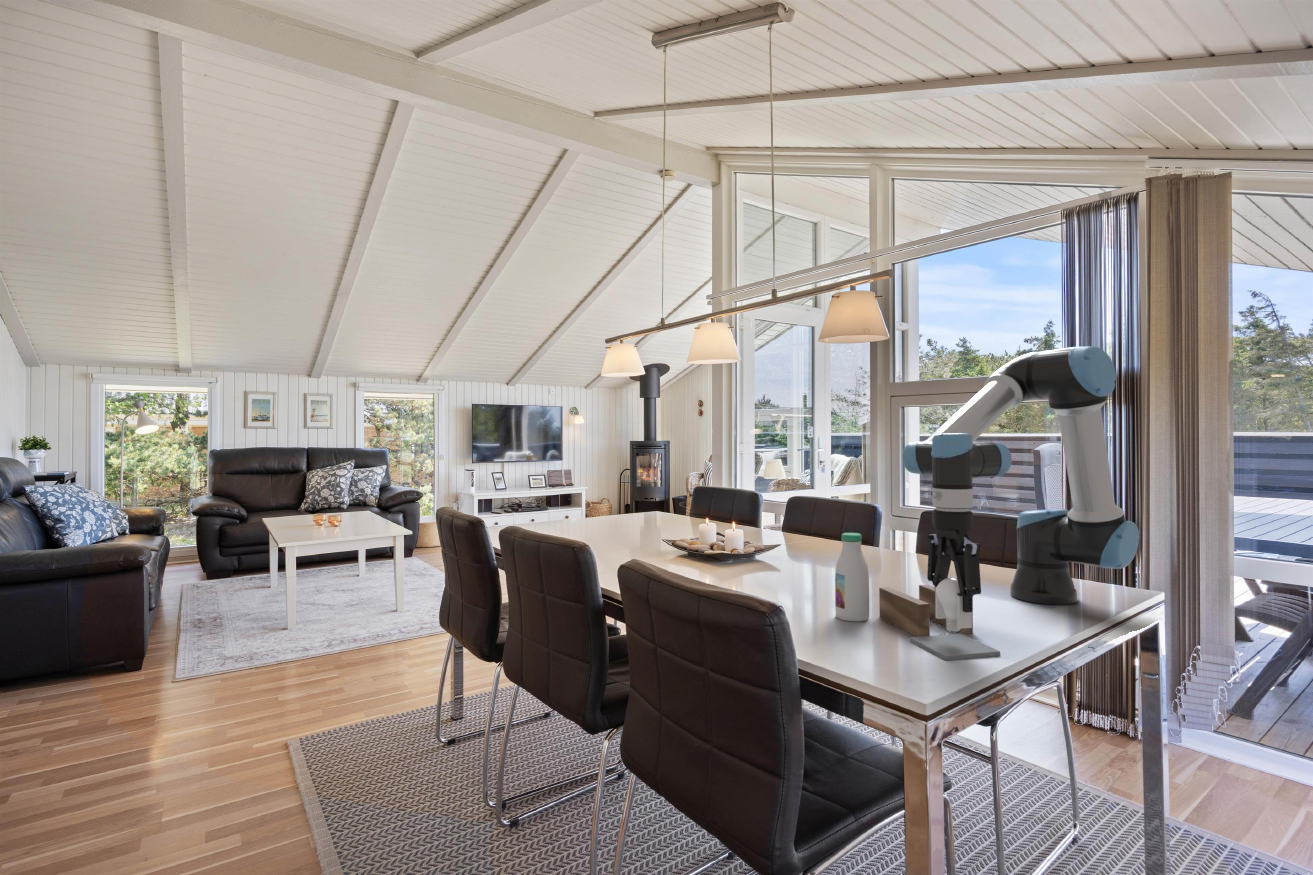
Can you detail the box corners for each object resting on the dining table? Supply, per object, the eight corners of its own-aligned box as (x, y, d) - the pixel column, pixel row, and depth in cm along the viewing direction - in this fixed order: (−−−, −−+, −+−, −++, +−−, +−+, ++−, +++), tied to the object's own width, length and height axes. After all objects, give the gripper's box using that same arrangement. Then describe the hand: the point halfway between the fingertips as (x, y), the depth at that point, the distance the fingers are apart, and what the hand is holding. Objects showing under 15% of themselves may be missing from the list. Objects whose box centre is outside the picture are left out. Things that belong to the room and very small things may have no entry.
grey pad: (960, 636, 141) (960, 633, 141) (1000, 655, 130) (1000, 651, 130) (909, 641, 139) (909, 637, 139) (945, 660, 127) (945, 656, 127)
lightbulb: (974, 637, 131) (973, 581, 130) (939, 635, 132) (939, 580, 132) (965, 628, 137) (965, 575, 137) (933, 626, 138) (932, 574, 138)
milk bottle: (871, 615, 159) (870, 532, 159) (867, 623, 152) (866, 536, 152) (838, 612, 162) (837, 530, 162) (832, 620, 155) (832, 535, 155)
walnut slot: (928, 613, 160) (928, 584, 160) (972, 632, 144) (972, 600, 144) (879, 616, 157) (879, 587, 157) (919, 637, 142) (918, 604, 142)
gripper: (908, 504, 143) (909, 611, 143) (967, 515, 124) (968, 638, 124) (939, 503, 144) (940, 609, 145) (1002, 514, 125) (1003, 635, 126)
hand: (953, 622), depth 134 cm, fingers closed on lightbulb, 6 cm apart
